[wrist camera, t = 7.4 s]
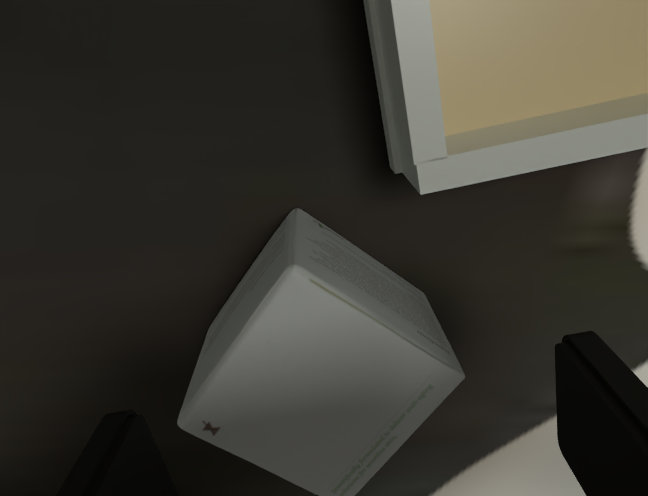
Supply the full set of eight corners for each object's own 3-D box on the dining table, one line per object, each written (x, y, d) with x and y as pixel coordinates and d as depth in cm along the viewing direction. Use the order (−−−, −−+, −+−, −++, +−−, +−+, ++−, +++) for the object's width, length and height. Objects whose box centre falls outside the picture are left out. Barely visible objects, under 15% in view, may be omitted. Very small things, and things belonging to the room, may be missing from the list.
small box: (335, 402, 18) (344, 516, 14) (203, 329, 17) (165, 427, 13) (431, 291, 17) (477, 378, 12) (293, 200, 15) (287, 259, 11)
